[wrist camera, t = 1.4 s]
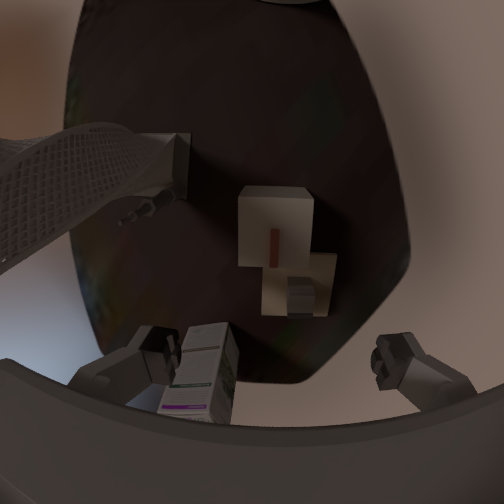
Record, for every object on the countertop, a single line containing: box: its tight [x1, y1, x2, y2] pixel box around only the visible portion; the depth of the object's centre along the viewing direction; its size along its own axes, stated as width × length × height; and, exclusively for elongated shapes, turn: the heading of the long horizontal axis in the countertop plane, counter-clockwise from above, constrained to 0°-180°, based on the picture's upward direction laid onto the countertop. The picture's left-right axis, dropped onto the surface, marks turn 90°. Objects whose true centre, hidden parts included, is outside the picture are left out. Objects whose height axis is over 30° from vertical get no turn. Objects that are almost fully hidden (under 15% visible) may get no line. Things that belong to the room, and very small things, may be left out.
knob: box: [238, 186, 314, 268], centre depth 25 cm, size 6×6×7 cm
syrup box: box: [157, 322, 240, 424], centre depth 28 cm, size 6×6×14 cm
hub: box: [261, 252, 337, 319], centre depth 28 cm, size 8×8×5 cm
